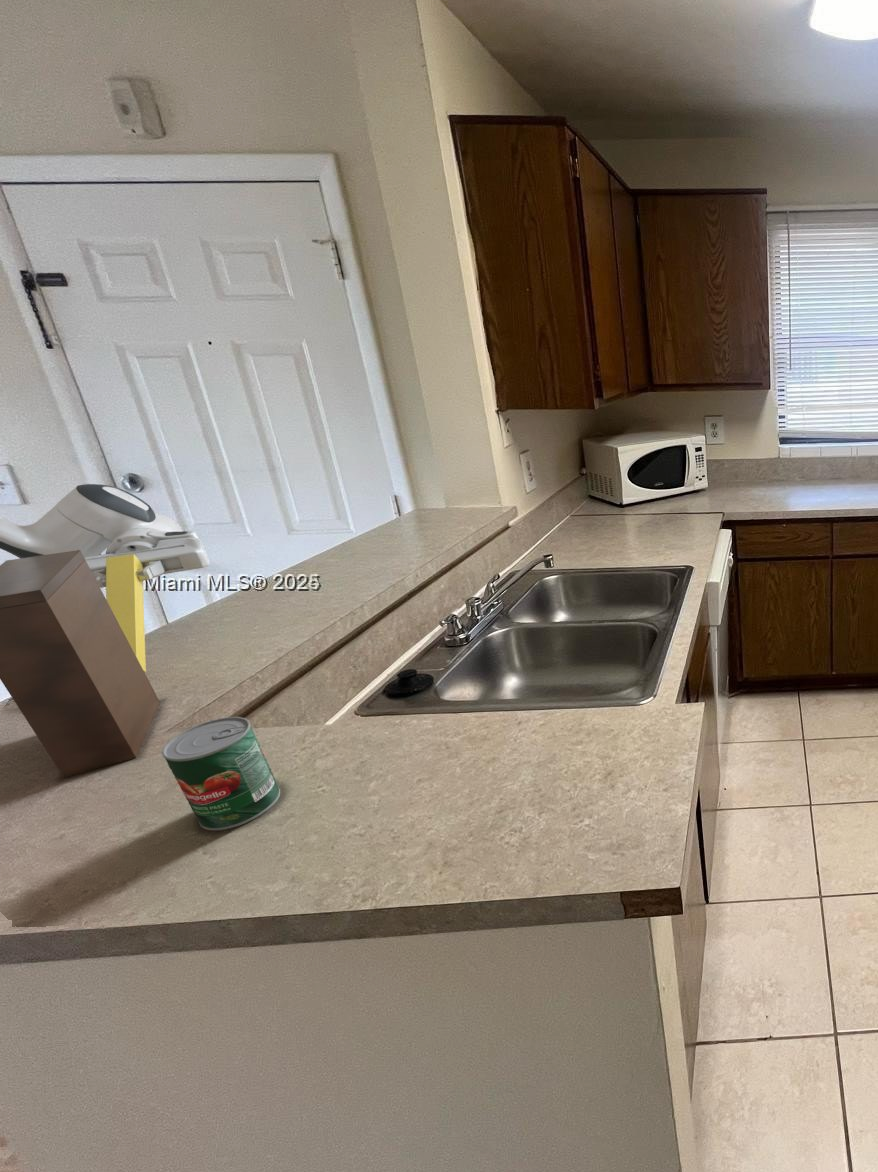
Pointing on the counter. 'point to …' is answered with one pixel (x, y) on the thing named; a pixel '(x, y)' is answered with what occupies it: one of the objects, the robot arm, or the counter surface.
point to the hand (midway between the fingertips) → (123, 579)
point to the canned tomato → (222, 772)
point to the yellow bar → (127, 600)
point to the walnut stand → (71, 663)
